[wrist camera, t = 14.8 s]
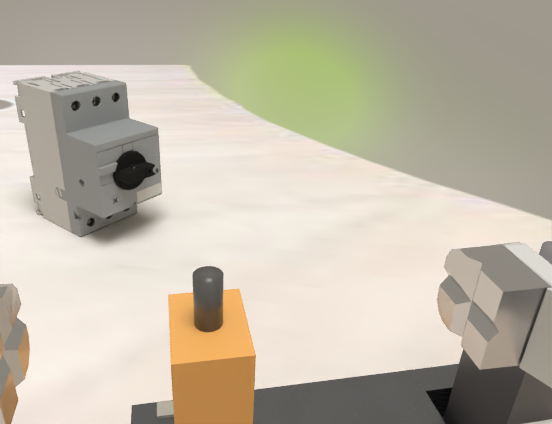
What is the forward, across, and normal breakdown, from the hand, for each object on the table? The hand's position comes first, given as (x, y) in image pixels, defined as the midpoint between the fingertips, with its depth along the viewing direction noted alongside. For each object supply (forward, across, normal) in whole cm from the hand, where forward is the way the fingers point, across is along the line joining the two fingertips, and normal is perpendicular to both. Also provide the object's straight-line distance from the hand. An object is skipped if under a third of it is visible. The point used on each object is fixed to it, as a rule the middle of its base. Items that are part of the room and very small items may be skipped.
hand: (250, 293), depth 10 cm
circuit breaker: (+44, +9, +22) cm, 50 cm away
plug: (+9, 0, +20) cm, 22 cm away
